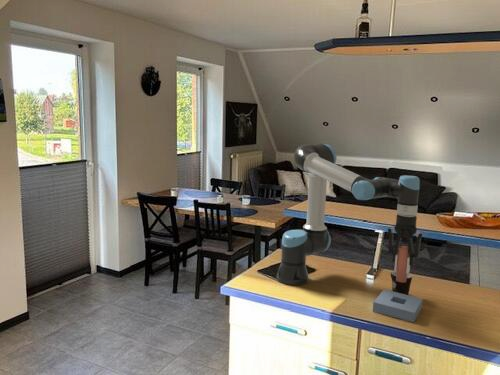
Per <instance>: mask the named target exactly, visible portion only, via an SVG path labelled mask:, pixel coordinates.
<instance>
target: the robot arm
mask: <svg viewBox="0 0 500 375" xmlns="http://www.w3.org/2000/svg"><path fill="white" fill-rule="evenodd" d="M294 151H295V152H294V154H293V162H294V164H295V166H296V167H297V168H298V169H300V170H301V171H304V172H305V173H307V175H308V188H307V190H308V191H307V193H308V194H307V204H306V205H307V206H306V208H307V210H306V223H305V224H303V226H302V229H290V230H287V231H285V232H284V233H283V234H282V238H281V239H282V240H281V253H280V254H281V256H280V257H281V259H280V260H281V262H280V265H279V266H278V270H277V273H276V280H277V279H278V280H277V281H278V282H279V281H280V283H281V284H284V285H290V286H300V285H301V286H302V285H305V284H307V283H308V282H309V273H308V270H307V266H306V263H307V262H306V261H307V260H306V259H307V257H308V256H313V255H317V254H321V253H323V252H325V251H327V250H329V248H330V246H331V243H332V242H331V241H332V238H331V234H330V232H329V231H328V227H327V226H326V225H325V213H326V200H327V199H326V197H327V184H328V182H330V183H332V184H334V185H336V186H339V187H340V188H342V189H344V190H346V191H348V192H350V193H352V195H353V197H354V198H355V199H356V200H358V201H368V200H372V199H379V198H386V197H387V198H392V199H397V206H396V213H397V214H396V218H395V220H396V221H395V225H394V227H389V228H387V232H388V252H389V253H391V254H392V263H394V269H393V271H397V261H398V249H399V246H401V242H402V239H403V238H404V239H406V241H407V247H408V248H409V257H408V258H407V270H406V273H410V271H411V266H413V264H414V260H415V258H418V257H419V255H420V250H421V242H422V237H423V236H424V232H423V231H421V232H420V231H419V230H418V229H417V215H418V207H419V206H418V205H419V194H420V189H421V188H420V184H421V182H420V177H418V176H415V175H406V174H405V175H400V177H399V178H398V179H395V178H389V177H384V176H382V177H379V176H376V177H374V178H373V179H368V178H366V177H364V176H361V175H360V174H357V173H355V172H354V171H351V170H349V169H346V168H344V167H342V166H340V165H338V164H336V163H337V154H336V151H335V149H334V148H333V147H332V146H331V145H330V144H326V143H314V144H313V143H312V144H307V143H306V144H302V145H300V146H299V147H297V148H296V149H295V150H294ZM327 181H328V182H327ZM395 232H396V234H397V237H396V242H395V244H394V233H395ZM414 235H415V236H416V241H415V249H414V244H413V236H414ZM394 245H395V246H394Z"/></svg>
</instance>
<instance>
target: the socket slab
mask: <svg viewBox="0 0 500 375" xmlns="http://www.w3.org/2000/svg"><path fill="white" fill-rule="evenodd" d="M423 300H424V298H421V297H417V296H413V295H409V294H408V295H406V294H402V293H397V292H393V291H392V290H388V289H385V288H384V289H383V290H382V291H381V293H379V295H378V296H377V297H376V298H375V300H373V302H372V312H374V313H377V314H381V315H385V316H387V317H388V316H389V317H392V318H397V319H399V320H403V321H406V322H411V323H415V321H416V319H417V317H418V316H419V314H420V312H421V310H422V308H423V303H424V302H423Z"/></svg>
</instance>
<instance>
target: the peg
mask: <svg viewBox="0 0 500 375" xmlns="http://www.w3.org/2000/svg"><path fill="white" fill-rule="evenodd" d="M397 254H398V261H397V273H396V281H398V282H402V283H404V282H406V280H407V273H406V270H407V258H408V257H409V248H408V246H405V245H399V249H398V252H397Z"/></svg>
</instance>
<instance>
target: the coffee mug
mask: <svg viewBox="0 0 500 375" xmlns="http://www.w3.org/2000/svg"><path fill="white" fill-rule="evenodd" d="M396 273H397V271H394V270H393V271H392V272H390V278H391V288H392V290H391V291H393V292H397V293H402V294H406V295H409V292H410V288H411V283H412V280H413V275H412V274H411V273H410V272H409V273H407V280H406V282H404V283H402V282H398V281H396Z"/></svg>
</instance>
